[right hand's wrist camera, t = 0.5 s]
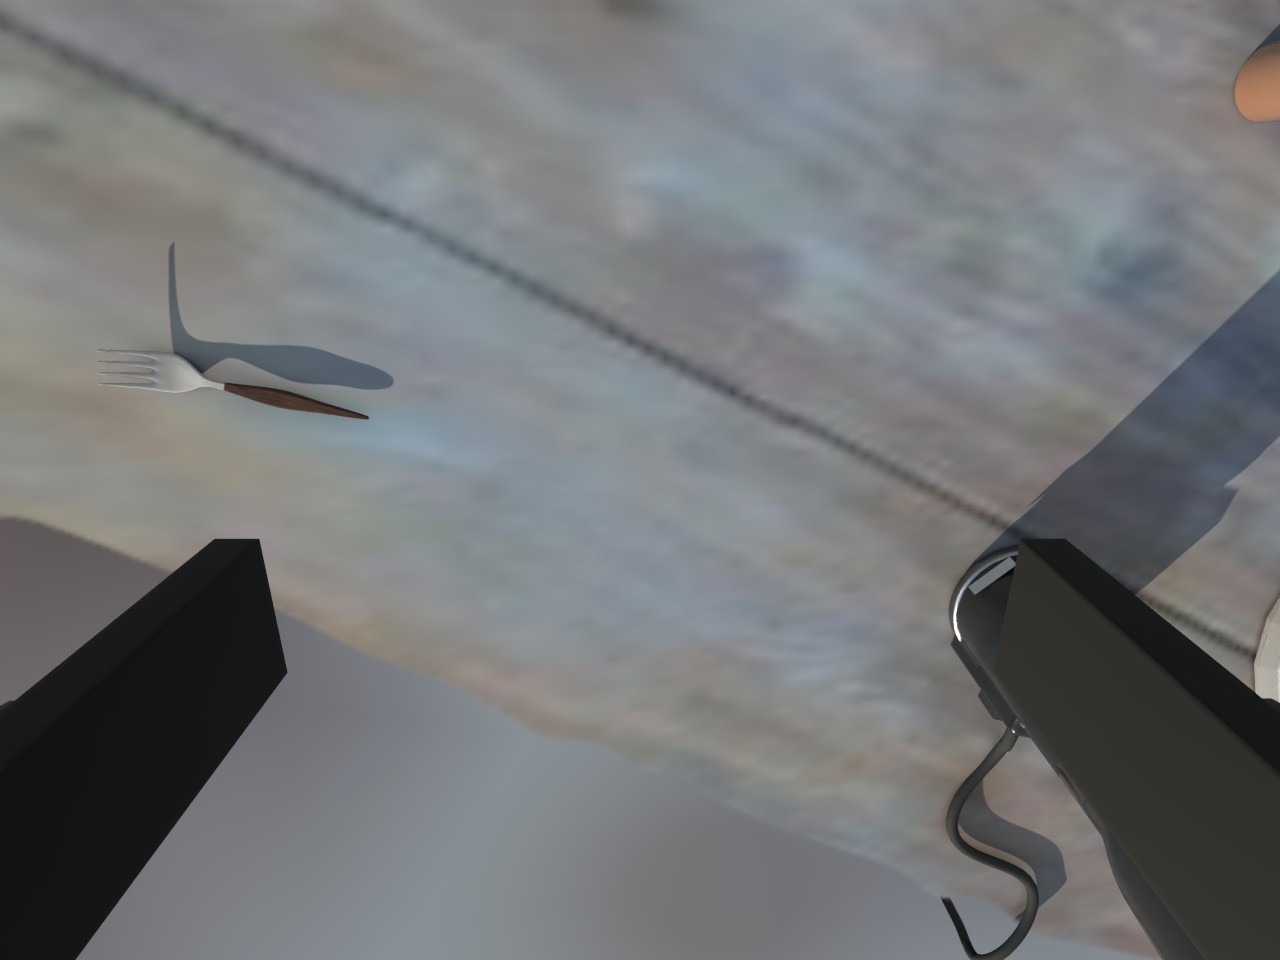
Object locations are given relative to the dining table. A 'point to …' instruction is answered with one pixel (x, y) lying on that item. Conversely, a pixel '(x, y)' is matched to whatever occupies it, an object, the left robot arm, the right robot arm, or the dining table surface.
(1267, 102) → the ringed wooden cylinder
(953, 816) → the left robot arm
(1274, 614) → the wall clock
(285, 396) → the fork
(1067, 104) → the dining table surface
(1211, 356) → the dining table surface
